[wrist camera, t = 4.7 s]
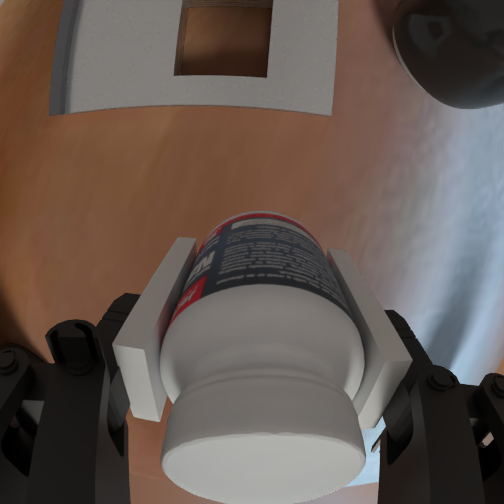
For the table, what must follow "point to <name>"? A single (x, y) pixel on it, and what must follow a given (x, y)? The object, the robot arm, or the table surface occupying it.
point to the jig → (171, 53)
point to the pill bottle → (262, 369)
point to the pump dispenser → (453, 49)
